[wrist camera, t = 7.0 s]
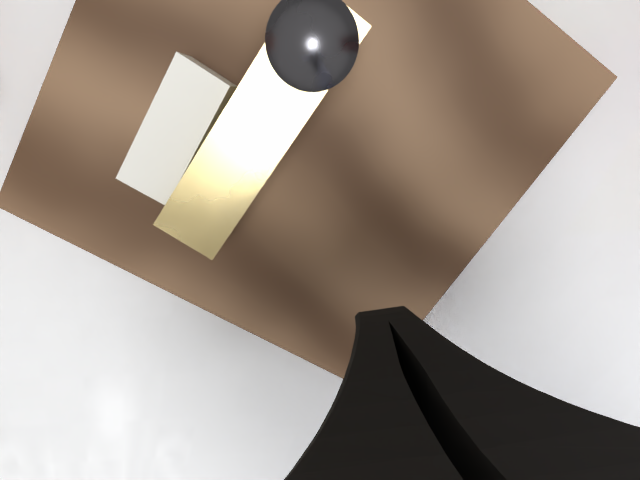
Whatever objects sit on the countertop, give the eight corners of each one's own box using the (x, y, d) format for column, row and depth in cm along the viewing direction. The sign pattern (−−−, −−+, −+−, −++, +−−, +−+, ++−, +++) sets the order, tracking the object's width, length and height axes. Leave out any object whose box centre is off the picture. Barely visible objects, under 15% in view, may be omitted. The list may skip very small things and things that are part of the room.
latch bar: (301, -9, 15) (302, -39, 11) (362, 41, 16) (380, 27, 12) (172, 200, 17) (141, 226, 14) (229, 236, 18) (213, 269, 14)
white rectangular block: (180, 193, 17) (166, 206, 15) (135, 168, 17) (115, 178, 15) (238, 86, 16) (229, 85, 14) (190, 56, 15) (176, 51, 14)
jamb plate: (363, 377, 22) (366, 390, 21) (10, 199, 18) (-6, 205, 17) (600, 77, 18) (617, 77, 17) (197, -260, 13) (188, -286, 12)
